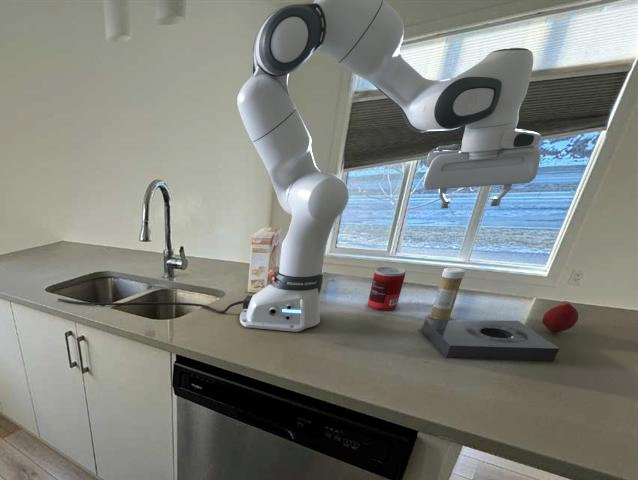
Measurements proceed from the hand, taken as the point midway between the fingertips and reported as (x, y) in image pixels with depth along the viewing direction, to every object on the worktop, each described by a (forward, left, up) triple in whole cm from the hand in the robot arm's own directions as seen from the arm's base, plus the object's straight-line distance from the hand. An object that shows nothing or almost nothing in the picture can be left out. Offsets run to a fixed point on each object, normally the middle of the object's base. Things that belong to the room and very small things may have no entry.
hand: (468, 207), depth 97 cm
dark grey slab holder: (+5, -16, -29) cm, 33 cm away
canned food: (-10, +10, -29) cm, 32 cm away
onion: (+23, -8, -29) cm, 38 cm away
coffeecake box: (-44, +30, -29) cm, 61 cm away
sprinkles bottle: (+2, +1, -29) cm, 29 cm away
